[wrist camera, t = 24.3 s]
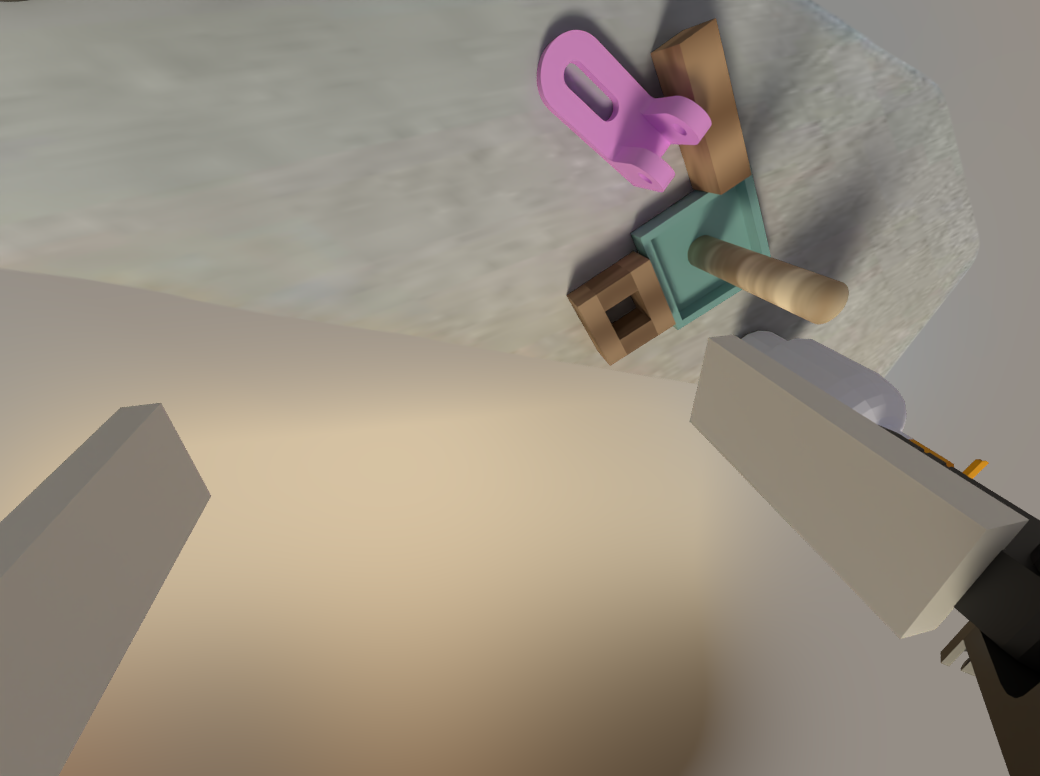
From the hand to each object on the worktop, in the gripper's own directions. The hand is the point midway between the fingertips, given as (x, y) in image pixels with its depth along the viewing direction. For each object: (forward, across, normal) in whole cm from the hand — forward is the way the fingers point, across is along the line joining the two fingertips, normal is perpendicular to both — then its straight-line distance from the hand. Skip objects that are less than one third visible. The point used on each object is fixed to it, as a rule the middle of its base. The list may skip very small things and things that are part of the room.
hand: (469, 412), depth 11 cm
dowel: (+31, +27, -5) cm, 42 cm away
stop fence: (+32, +24, +7) cm, 40 cm away
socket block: (+32, +18, -10) cm, 38 cm away
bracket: (+32, +16, +8) cm, 37 cm away
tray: (+32, +27, -5) cm, 42 cm away
